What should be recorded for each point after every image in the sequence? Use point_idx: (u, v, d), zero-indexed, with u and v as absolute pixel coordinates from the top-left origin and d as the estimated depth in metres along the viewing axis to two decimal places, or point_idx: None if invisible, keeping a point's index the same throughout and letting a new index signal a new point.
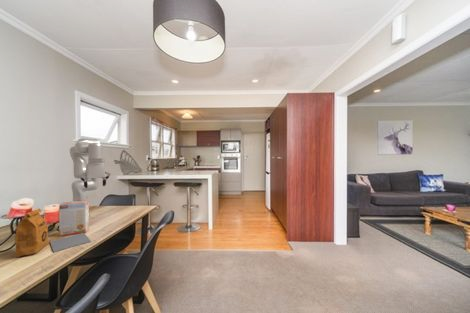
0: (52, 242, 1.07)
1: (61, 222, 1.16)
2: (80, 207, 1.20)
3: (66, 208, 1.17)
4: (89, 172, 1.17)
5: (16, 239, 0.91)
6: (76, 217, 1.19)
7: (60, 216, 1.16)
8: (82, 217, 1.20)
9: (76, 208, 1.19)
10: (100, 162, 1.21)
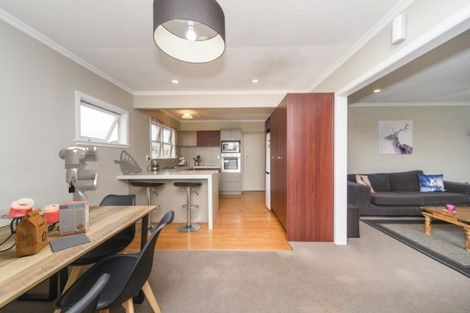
0: (52, 242, 1.07)
1: (61, 222, 1.16)
2: (80, 207, 1.20)
3: (66, 208, 1.17)
4: (77, 176, 1.26)
5: (16, 239, 0.91)
6: (76, 217, 1.19)
7: (60, 216, 1.16)
8: (82, 217, 1.20)
9: (76, 208, 1.19)
10: None
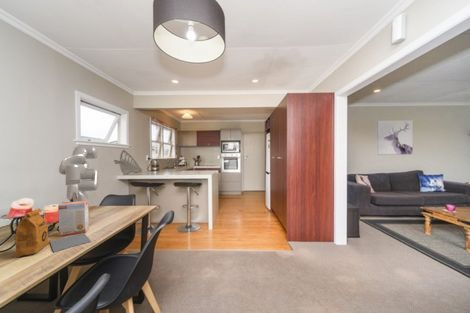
0: (52, 242, 1.07)
1: (61, 222, 1.16)
2: (79, 208, 1.19)
3: (65, 209, 1.16)
4: (78, 192, 1.24)
5: (16, 239, 0.91)
6: (75, 218, 1.18)
7: (59, 216, 1.15)
8: (81, 217, 1.20)
9: (75, 209, 1.18)
10: None
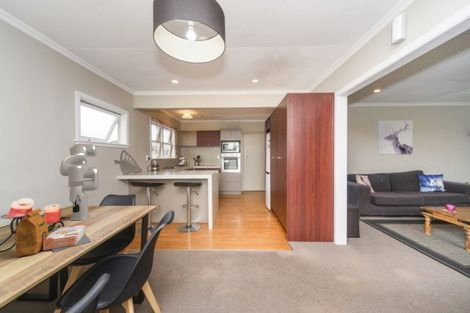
0: None
1: None
2: None
3: None
4: (81, 195, 1.17)
5: (16, 239, 0.91)
6: None
7: None
8: None
9: None
10: None
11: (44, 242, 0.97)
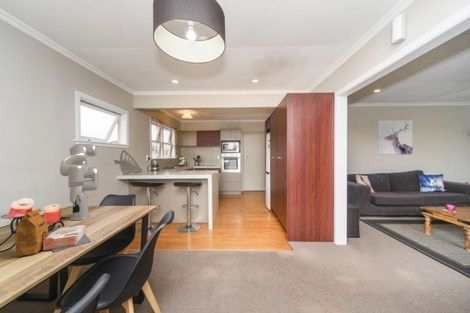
0: None
1: None
2: None
3: None
4: (81, 195, 1.17)
5: (16, 239, 0.91)
6: None
7: None
8: None
9: None
10: None
11: (44, 242, 0.97)
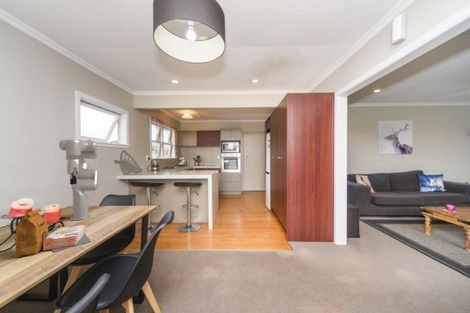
0: None
1: None
2: None
3: None
4: (78, 168, 1.23)
5: (16, 239, 0.91)
6: None
7: None
8: None
9: None
10: None
11: (44, 242, 0.97)
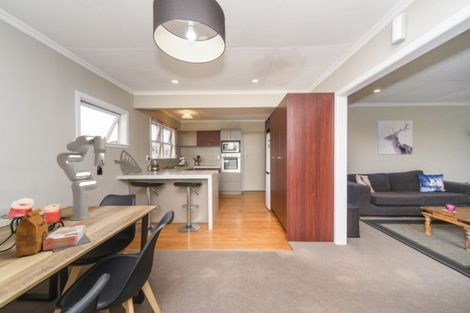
0: None
1: None
2: None
3: None
4: (104, 160, 1.41)
5: (16, 239, 0.91)
6: None
7: None
8: None
9: None
10: None
11: (44, 242, 0.97)
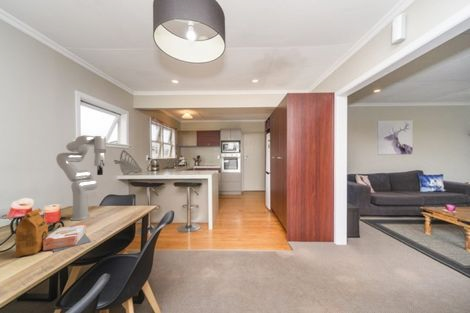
0: None
1: None
2: None
3: None
4: (104, 160, 1.41)
5: (16, 239, 0.91)
6: None
7: None
8: None
9: None
10: None
11: (44, 242, 0.97)
